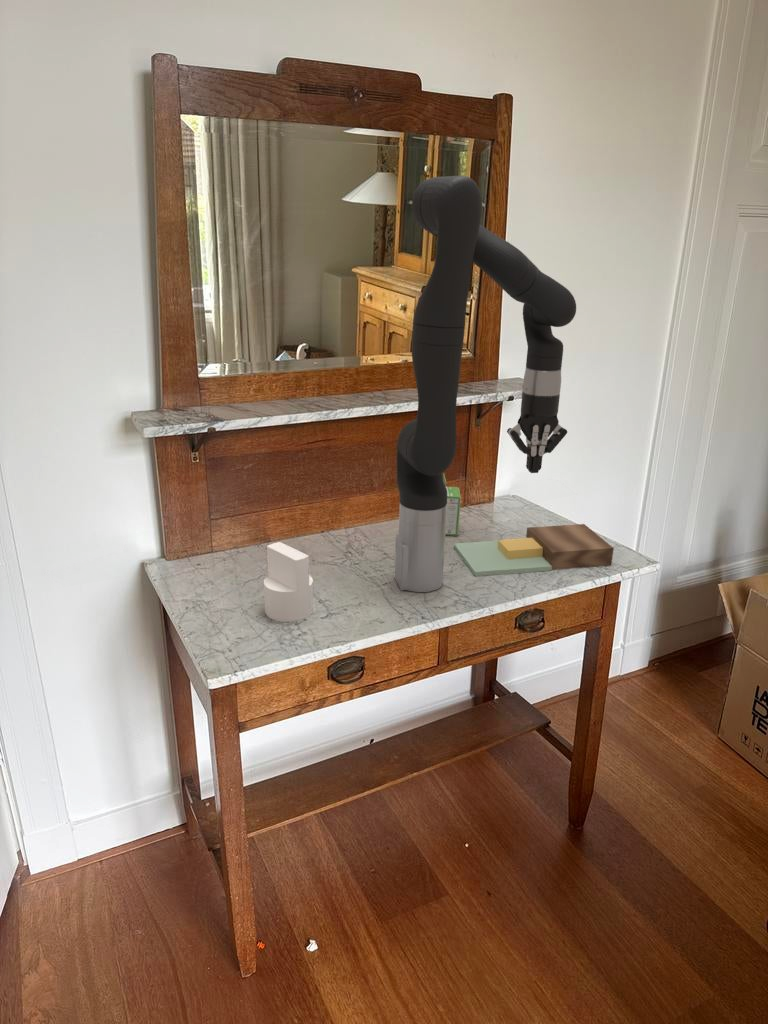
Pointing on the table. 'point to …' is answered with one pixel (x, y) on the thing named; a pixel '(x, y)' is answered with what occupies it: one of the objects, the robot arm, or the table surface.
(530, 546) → the tile
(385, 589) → the table surface
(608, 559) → the brown wooden block
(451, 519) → the ink box
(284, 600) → the base with upright slab
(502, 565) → the mat
